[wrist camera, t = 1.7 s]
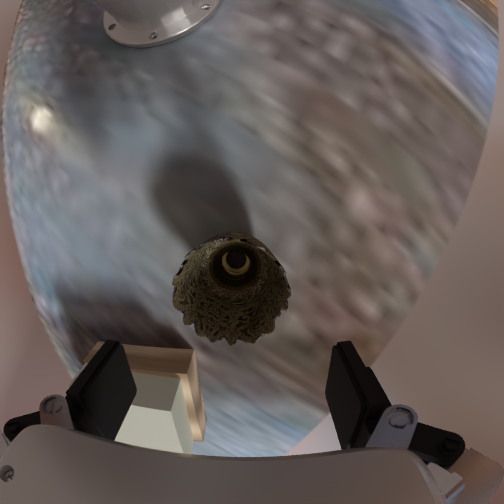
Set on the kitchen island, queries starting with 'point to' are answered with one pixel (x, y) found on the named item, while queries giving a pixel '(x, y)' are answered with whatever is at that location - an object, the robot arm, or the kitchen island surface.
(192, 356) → the box
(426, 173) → the kitchen island surface
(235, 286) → the dark brown tapered piece
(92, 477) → the robot arm
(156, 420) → the tower top
